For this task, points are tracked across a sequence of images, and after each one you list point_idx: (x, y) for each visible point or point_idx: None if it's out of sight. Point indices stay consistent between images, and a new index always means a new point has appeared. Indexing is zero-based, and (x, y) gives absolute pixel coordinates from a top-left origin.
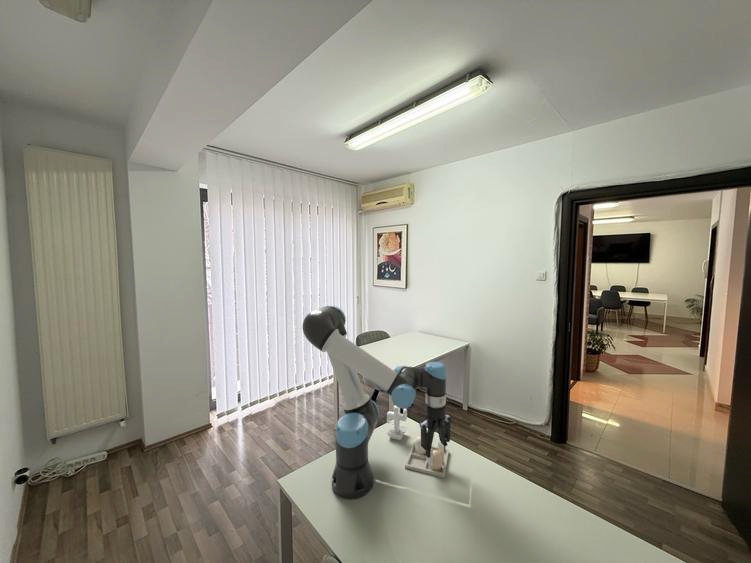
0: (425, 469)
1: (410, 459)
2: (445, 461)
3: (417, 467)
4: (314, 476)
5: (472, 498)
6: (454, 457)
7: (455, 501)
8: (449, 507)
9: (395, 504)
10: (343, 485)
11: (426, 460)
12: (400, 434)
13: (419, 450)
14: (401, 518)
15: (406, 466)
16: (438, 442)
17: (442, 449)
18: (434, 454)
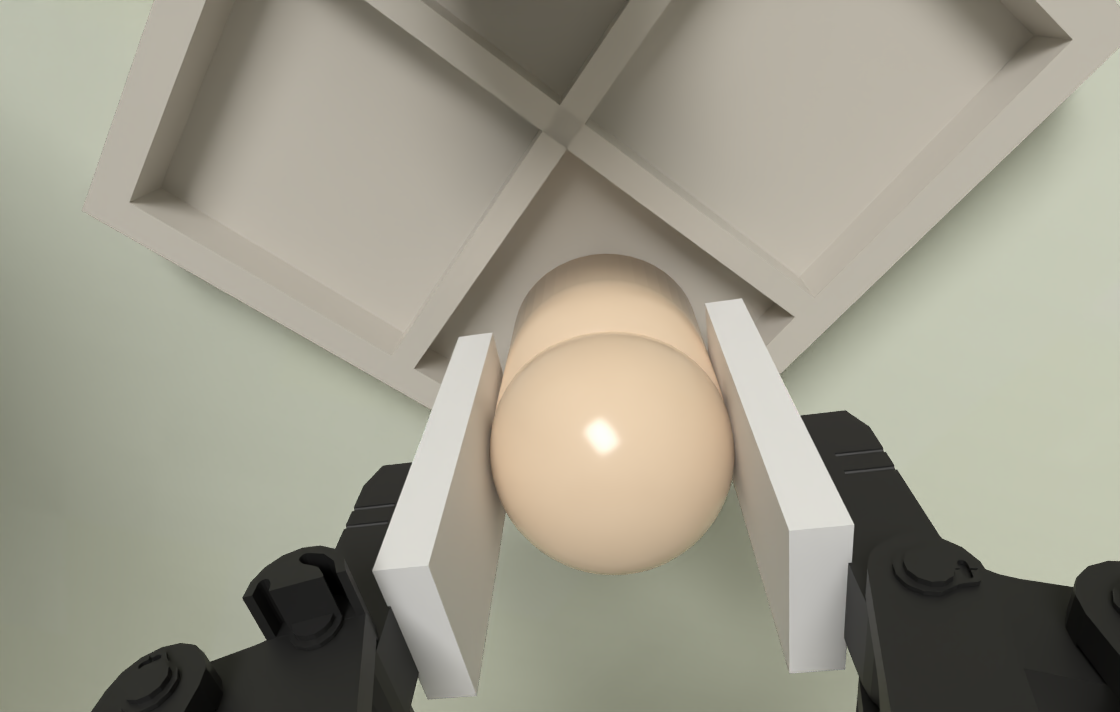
0: (407, 386)
1: (240, 8)
2: (806, 321)
3: (293, 319)
4: None
5: (745, 685)
6: (1079, 144)
7: (581, 672)
8: (500, 696)
9: (21, 579)
10: None
11: (499, 212)
12: None
13: None
14: (80, 676)
15: (122, 221)
16: (792, 533)
17: (767, 591)
18: (544, 552)
